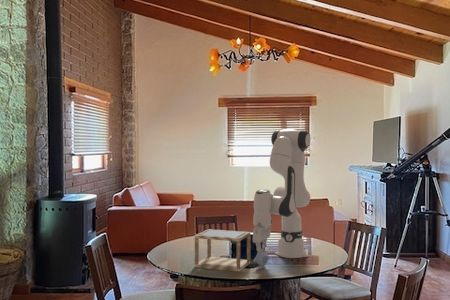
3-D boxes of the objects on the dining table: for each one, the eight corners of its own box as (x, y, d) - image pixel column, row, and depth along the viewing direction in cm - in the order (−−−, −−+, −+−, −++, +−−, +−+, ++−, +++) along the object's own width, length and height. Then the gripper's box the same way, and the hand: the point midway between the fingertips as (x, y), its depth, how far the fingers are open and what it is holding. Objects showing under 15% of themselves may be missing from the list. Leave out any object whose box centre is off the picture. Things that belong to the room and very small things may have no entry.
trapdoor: (245, 238, 246) (245, 232, 246) (236, 244, 233) (236, 237, 233) (210, 236, 253) (210, 230, 253) (199, 241, 240) (199, 234, 240)
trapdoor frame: (250, 263, 247) (250, 232, 247) (239, 271, 230) (239, 238, 230) (208, 259, 256) (208, 229, 255) (194, 267, 239) (194, 235, 239)
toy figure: (257, 271, 231) (257, 247, 231) (249, 268, 236) (249, 245, 236) (273, 268, 237) (273, 244, 237) (266, 265, 242) (266, 242, 242)
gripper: (262, 225, 225) (261, 253, 225) (273, 219, 244) (272, 246, 244) (249, 224, 227) (249, 252, 227) (261, 218, 246) (260, 244, 246)
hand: (261, 249), depth 236 cm, fingers open, 8 cm apart
